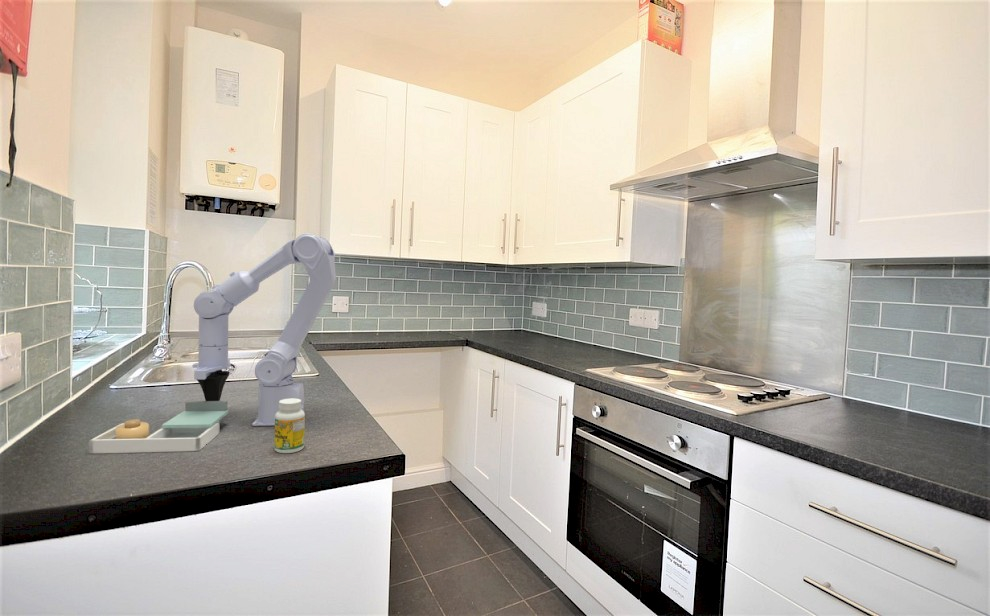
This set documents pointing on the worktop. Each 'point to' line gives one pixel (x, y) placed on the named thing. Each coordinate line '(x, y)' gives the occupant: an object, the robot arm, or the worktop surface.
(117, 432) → the domed oval button
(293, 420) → the supplement bottle
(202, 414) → the lid
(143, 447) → the housing
